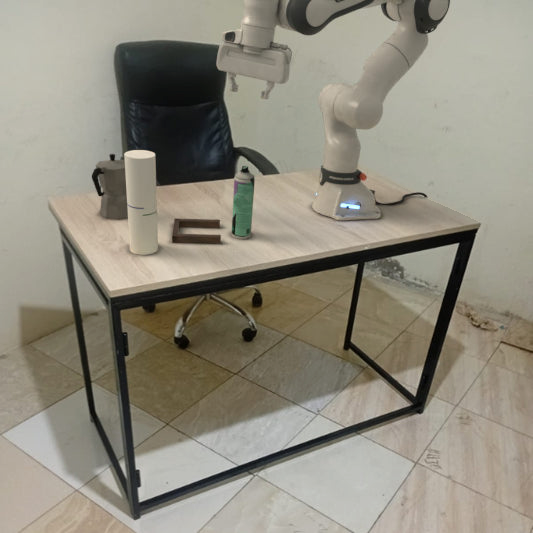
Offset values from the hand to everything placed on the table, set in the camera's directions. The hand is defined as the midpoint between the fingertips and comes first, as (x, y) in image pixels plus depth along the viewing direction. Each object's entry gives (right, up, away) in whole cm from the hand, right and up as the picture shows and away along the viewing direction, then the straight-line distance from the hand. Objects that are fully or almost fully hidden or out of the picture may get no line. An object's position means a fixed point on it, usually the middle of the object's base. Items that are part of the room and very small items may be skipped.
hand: (249, 94), depth 135 cm
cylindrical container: (-27, -42, -4) cm, 50 cm away
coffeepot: (-40, -31, +14) cm, 53 cm away
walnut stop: (-15, -37, +7) cm, 40 cm away
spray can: (-3, -37, +8) cm, 38 cm away
